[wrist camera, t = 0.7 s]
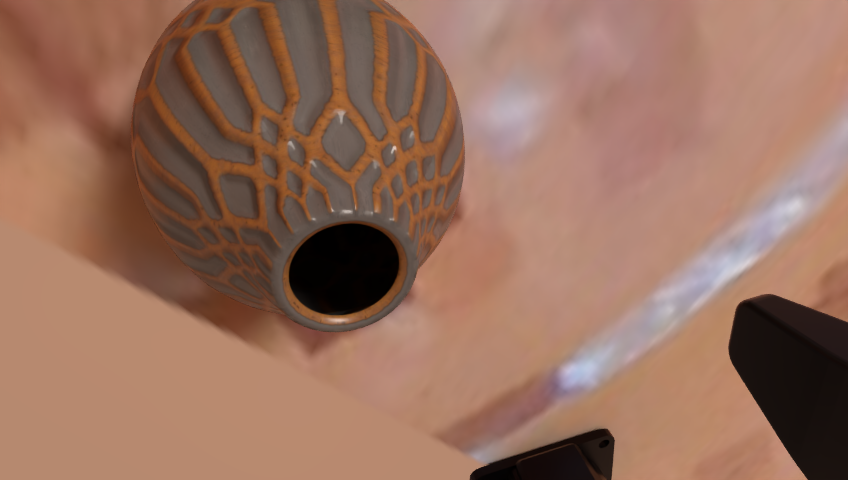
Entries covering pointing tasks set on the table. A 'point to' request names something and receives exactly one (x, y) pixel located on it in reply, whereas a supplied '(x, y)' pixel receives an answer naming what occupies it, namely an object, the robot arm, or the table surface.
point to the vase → (299, 153)
